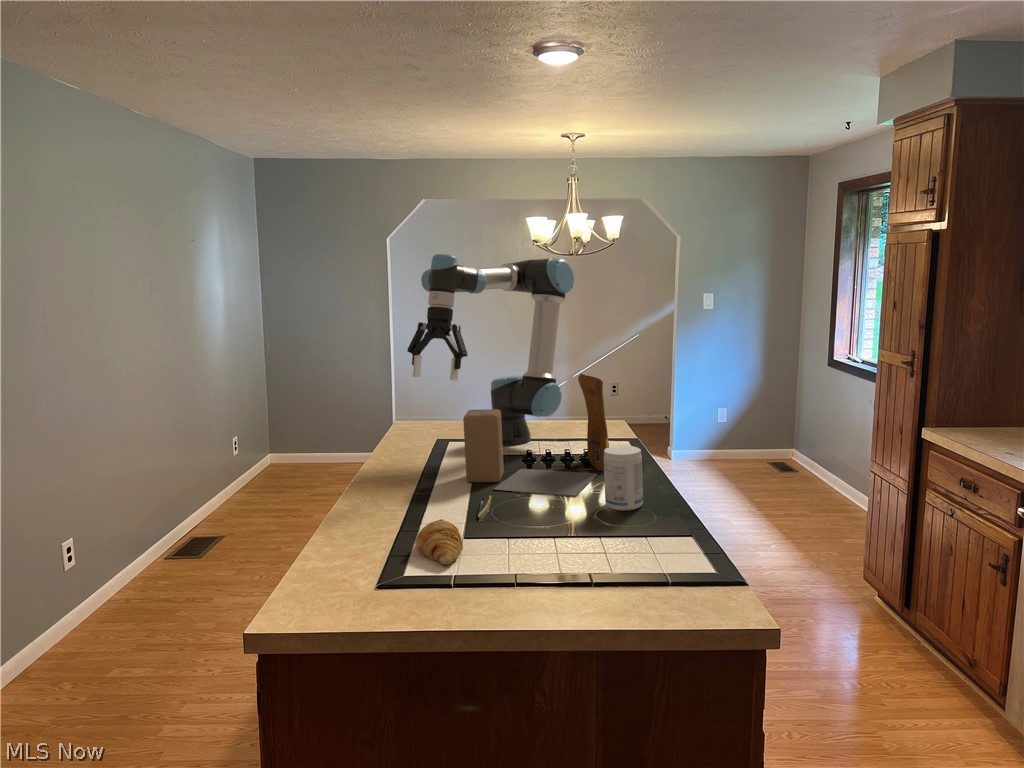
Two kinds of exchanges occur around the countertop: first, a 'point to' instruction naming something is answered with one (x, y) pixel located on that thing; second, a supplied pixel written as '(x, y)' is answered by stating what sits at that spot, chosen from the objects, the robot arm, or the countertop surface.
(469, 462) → the wooden block
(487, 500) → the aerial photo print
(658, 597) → the countertop surface
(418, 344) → the robot arm
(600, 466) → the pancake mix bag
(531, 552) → the countertop surface
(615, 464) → the supplement tub
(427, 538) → the croissant
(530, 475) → the mat
